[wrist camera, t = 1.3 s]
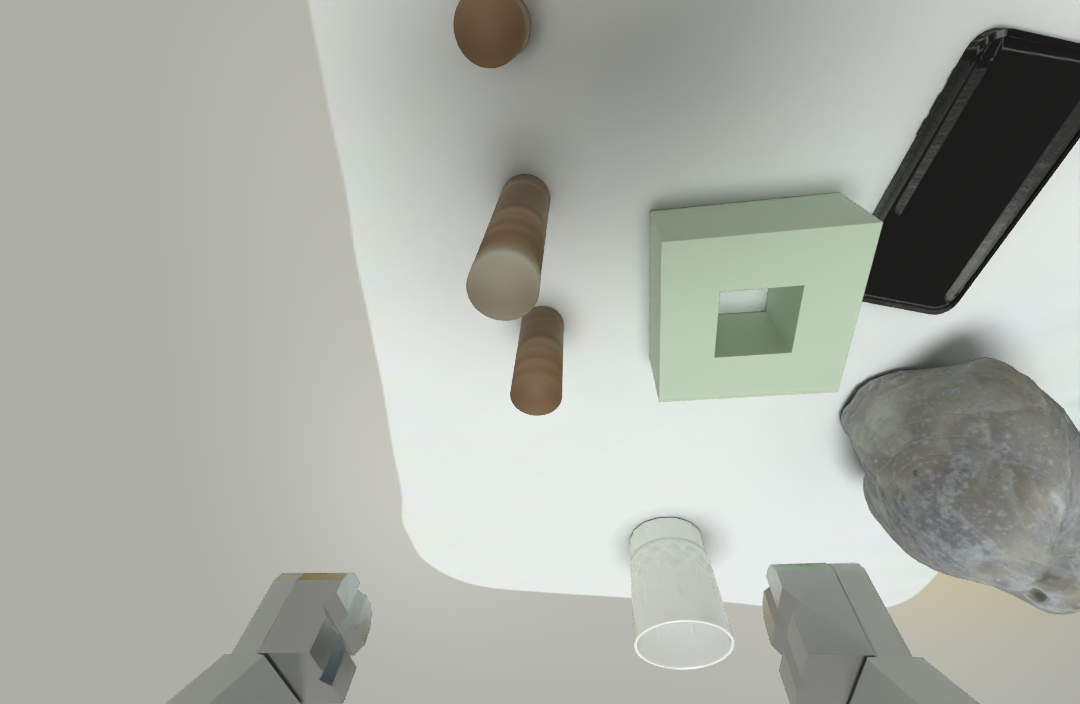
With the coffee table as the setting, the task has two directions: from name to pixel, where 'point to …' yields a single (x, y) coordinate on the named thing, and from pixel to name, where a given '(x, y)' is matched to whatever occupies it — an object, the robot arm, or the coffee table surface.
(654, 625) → the white cup
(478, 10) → the pin short
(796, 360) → the socket block
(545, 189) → the pin long
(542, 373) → the pin medium
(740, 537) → the coffee table surface
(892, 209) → the phone
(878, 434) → the decorative stone
